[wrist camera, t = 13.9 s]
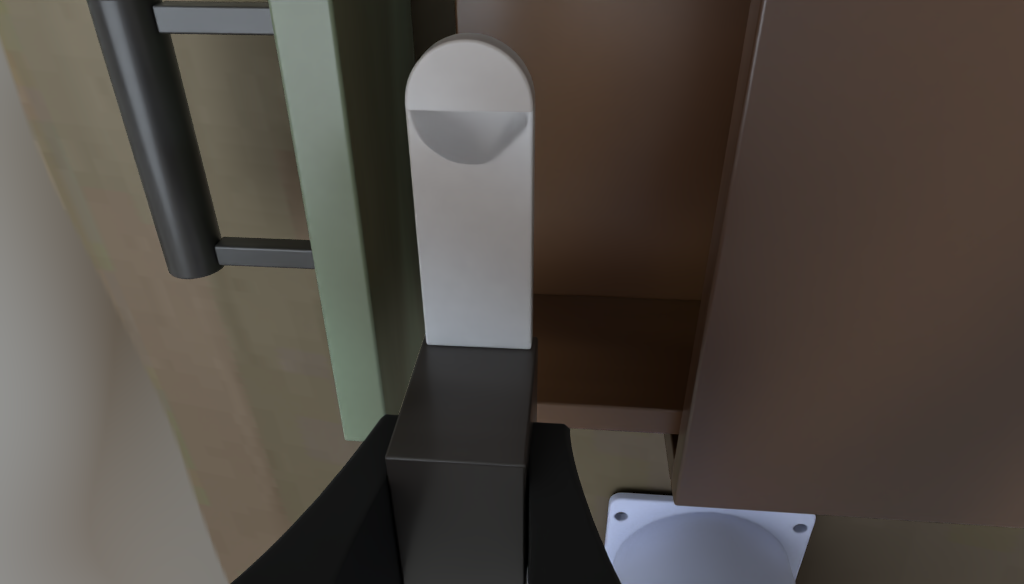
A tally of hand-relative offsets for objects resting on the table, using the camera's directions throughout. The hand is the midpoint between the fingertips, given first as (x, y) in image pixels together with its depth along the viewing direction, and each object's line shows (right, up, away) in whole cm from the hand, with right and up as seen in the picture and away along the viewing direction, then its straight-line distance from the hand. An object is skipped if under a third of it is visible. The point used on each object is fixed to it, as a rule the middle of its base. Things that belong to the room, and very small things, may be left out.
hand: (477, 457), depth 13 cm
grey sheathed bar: (0, +3, 0) cm, 3 cm away
